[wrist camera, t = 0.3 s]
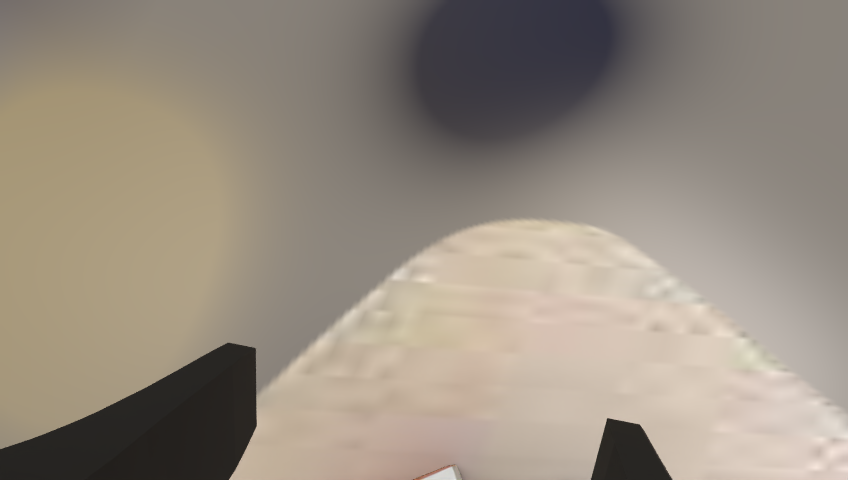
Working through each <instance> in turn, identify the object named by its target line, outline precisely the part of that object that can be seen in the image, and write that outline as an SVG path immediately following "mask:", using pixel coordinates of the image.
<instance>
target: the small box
mask: <svg viewBox="0 0 848 480" xmlns="http://www.w3.org/2000/svg"><path fill="white" fill-rule="evenodd" d="M413 480H462V477H461V475H460V472H459V470H458V468H457V466H456V465H449V466H446V467H443V468H441V469H438V470H436V471H433V472H431V473H428V474H426V475H423V476H421V477H418V478H416V479H413Z"/></svg>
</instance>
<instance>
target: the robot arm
mask: <svg viewBox="0 0 848 480" xmlns="http://www.w3.org/2000/svg"><path fill="white" fill-rule="evenodd" d="M256 426H257V419H256V349H255V348H252V347H247V346H242V345H237V344H232V343H227V344H225V345H223V346H221V347H219V348H217V349H215V350H213V351H211V352H210V353H208V354H206V355H204V356H202V357H200V358H199V359H197V360H195V361H193V362H192V363H190V364H188V365H186V366H184V367H183V368H181V369H179V370H178V371H176V372H174V373H172V374H170V375H168V376H166V377H165V378H163V379H161V380H159V381H157V382H156V383H154V384H152V385H150V386H148V387H147V388H144V389H142V390H141V391H138V392H136V393H134V394H132V395H130V396H128V397H126V398H124V399H122V400H120V401H118V402H116V403H114V404H112V405H110V406H108V407H106V408H104V409H102V410H100V411H98V412H96V413H94V414H91V415H89V416H87V417H85V418H83V419H80V420H78V421H75V422H73V423H71V424H68V425H66V426H63V427H61V428H58V429H56V430H54V431H51V432H49V433H46V434H44V435H41V436H38V437H35V438H33V439H30V440H27V441H24V442H21V443H18V444H15V445H12V446H9V447H6V448H3V449H0V480H229V479H230V477H231V475H232V474H233V472H234V471H235V469H236V467H237V465H238V463H239V461H240V459H241V458H242V456H243V454H244V452H245V450H246V448H247V445H248V443H249V441H250V439H251V437H252V435H253V433H254V431H255V429H256ZM591 480H672V478H671V477H670V475H669V473H668V471H667V470H666V468H665V466H664V465H663V463H662V461H661V460H660V458H659V456H658V454H657V453H656V451H655V449H654V447H653V446H652V444H651V442H650V440H649V439H648V437H647V435H646V433H645V432H644V430H643V429H642V427H641V426H640V425H639V424H634V423H629V422H624V421H619V420H614V419H609V418H607V422H606V425H605V429H604V433H603V437H602V440H601V444H600V448H599V452H598V455H597V459H596V463H595V467H594V470H593V474H592V478H591Z"/></svg>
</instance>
